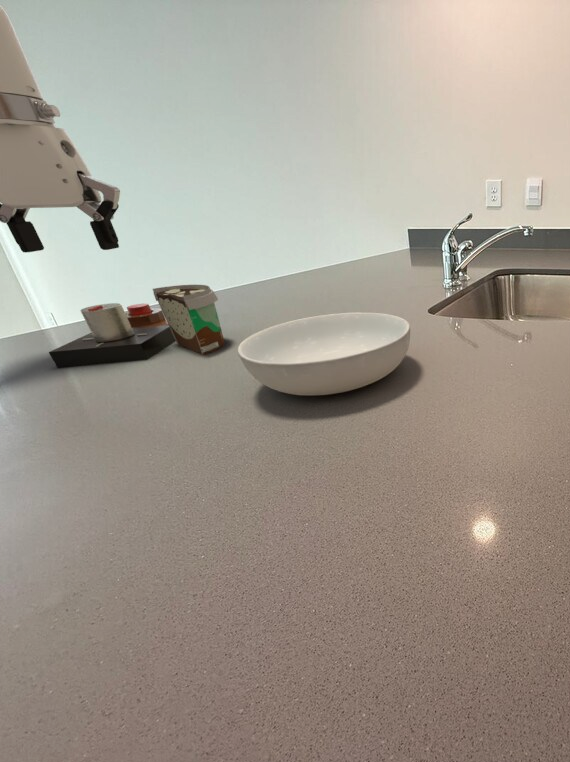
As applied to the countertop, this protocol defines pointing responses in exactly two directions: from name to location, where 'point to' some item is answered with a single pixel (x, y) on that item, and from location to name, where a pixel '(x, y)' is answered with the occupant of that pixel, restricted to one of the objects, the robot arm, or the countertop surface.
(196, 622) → the countertop surface
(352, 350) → the serving bowl
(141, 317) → the igniter
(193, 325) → the food container
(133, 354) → the stove panel
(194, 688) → the countertop surface
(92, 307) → the stove knob
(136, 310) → the button
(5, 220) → the robot arm
